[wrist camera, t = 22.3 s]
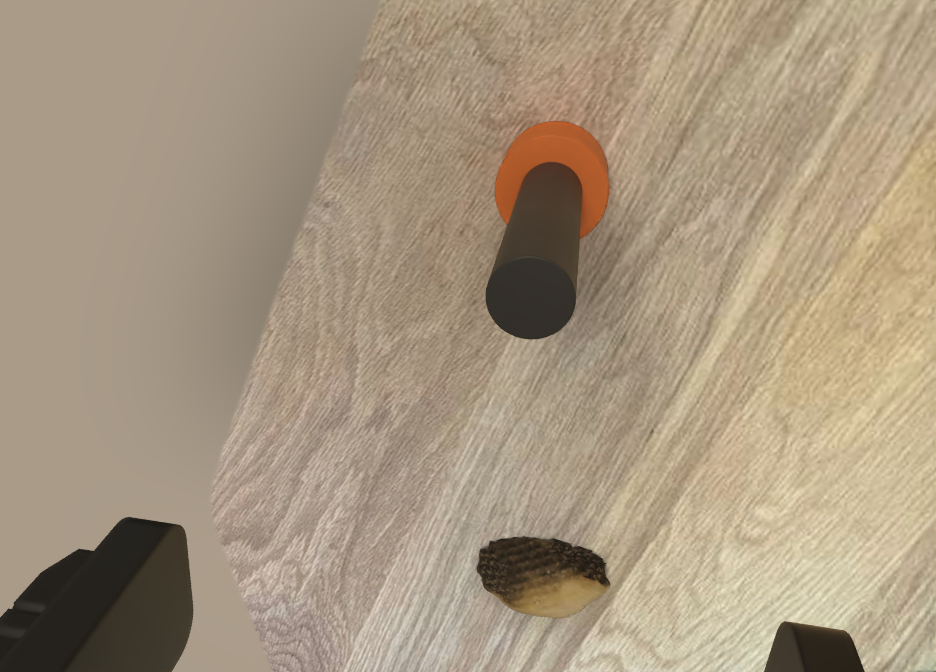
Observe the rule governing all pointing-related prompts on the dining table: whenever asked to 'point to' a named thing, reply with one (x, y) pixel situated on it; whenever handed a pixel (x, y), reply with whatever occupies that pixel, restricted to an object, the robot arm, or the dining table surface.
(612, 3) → the dining table surface
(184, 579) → the robot arm
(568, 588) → the nut kernel
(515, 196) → the sponge stick
